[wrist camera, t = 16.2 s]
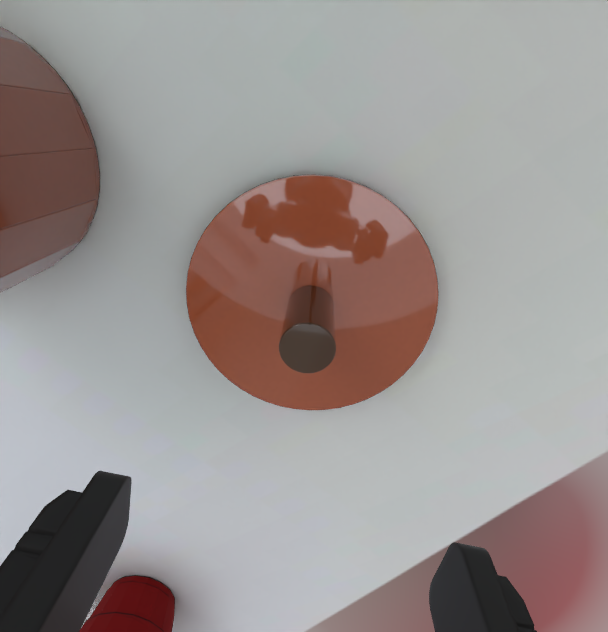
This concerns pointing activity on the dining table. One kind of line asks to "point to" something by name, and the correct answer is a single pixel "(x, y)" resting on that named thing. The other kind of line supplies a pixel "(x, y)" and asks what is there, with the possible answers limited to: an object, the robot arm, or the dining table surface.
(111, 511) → the robot arm
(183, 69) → the dining table surface
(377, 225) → the lid
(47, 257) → the pot
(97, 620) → the plastic cup
